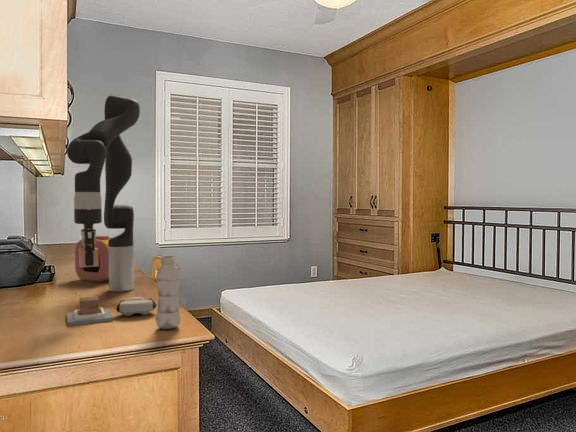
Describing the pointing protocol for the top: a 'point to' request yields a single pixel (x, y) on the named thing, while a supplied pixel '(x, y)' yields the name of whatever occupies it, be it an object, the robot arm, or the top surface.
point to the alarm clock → (102, 270)
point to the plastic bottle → (168, 294)
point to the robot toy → (136, 306)
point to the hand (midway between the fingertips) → (88, 264)
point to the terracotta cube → (82, 258)
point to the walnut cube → (89, 305)
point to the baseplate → (89, 317)
